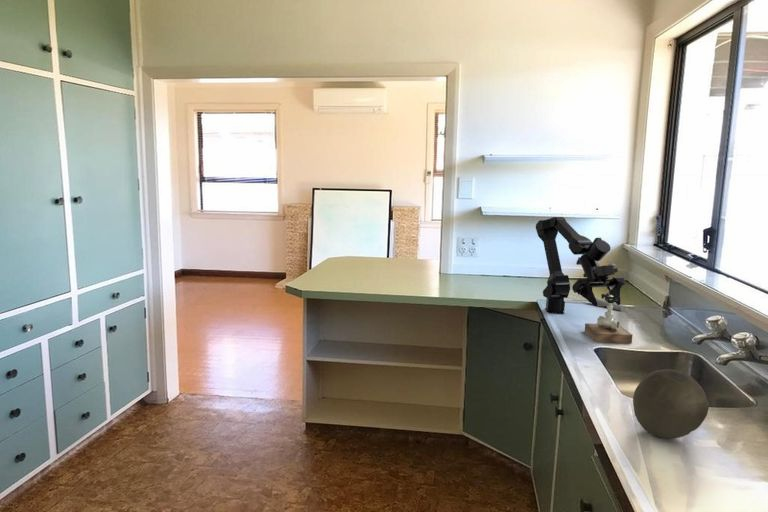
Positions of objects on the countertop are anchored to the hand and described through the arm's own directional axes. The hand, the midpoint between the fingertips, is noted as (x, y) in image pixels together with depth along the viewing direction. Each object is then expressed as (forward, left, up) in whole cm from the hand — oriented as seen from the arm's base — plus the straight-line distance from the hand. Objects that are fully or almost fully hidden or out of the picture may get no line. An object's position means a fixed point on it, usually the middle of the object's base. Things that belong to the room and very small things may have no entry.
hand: (608, 305), depth 187 cm
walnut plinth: (0, -1, -11) cm, 11 cm away
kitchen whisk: (+10, +47, -12) cm, 50 cm away
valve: (0, -1, -8) cm, 9 cm away
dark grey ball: (-13, -72, -11) cm, 74 cm away
